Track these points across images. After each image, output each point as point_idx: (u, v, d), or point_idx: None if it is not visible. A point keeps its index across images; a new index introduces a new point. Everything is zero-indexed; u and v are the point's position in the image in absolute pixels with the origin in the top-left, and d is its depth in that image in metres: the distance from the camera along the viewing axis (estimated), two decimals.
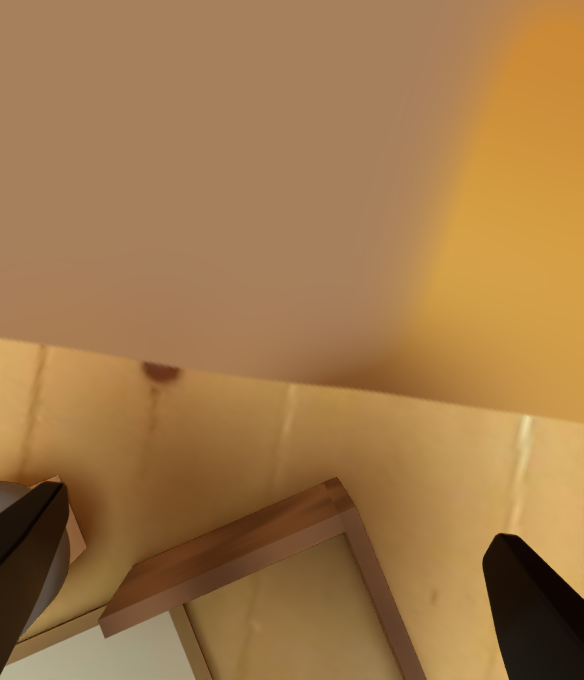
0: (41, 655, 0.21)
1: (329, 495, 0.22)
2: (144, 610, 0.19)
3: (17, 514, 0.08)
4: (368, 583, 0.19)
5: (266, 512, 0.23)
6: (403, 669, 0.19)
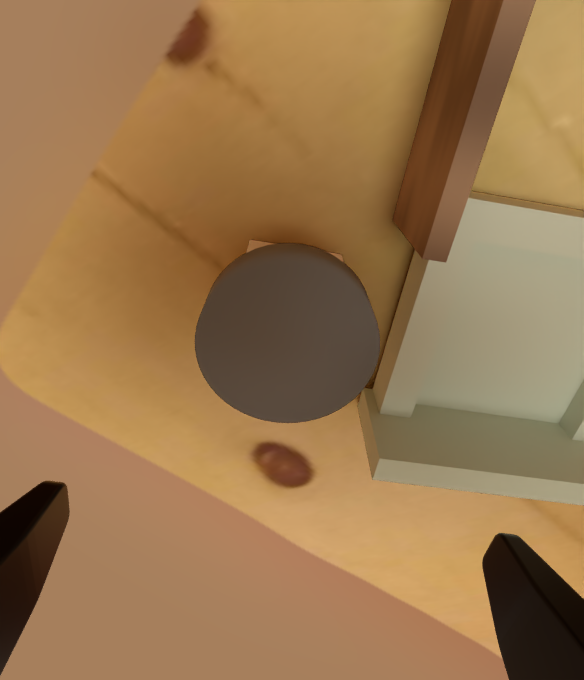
0: (408, 339, 0.19)
1: None
2: (453, 203, 0.14)
3: (17, 514, 0.08)
4: None
5: None
6: None
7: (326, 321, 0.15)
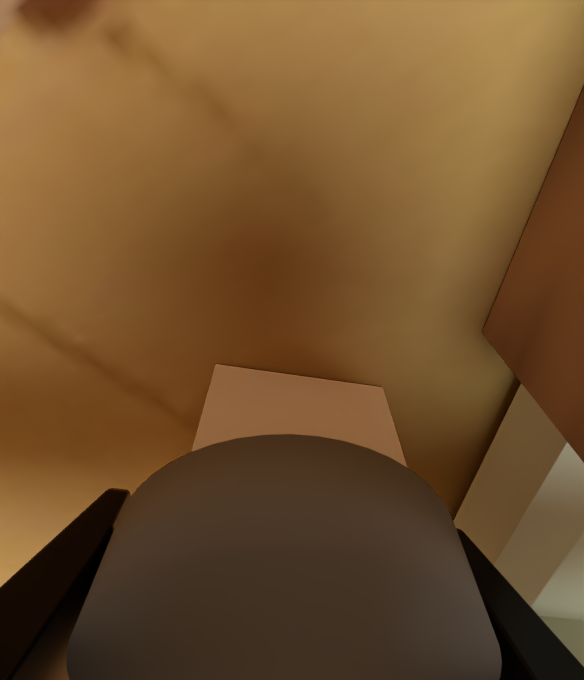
0: (510, 553, 0.10)
1: None
2: None
3: (90, 522, 0.08)
4: None
5: None
6: None
7: (378, 646, 0.06)
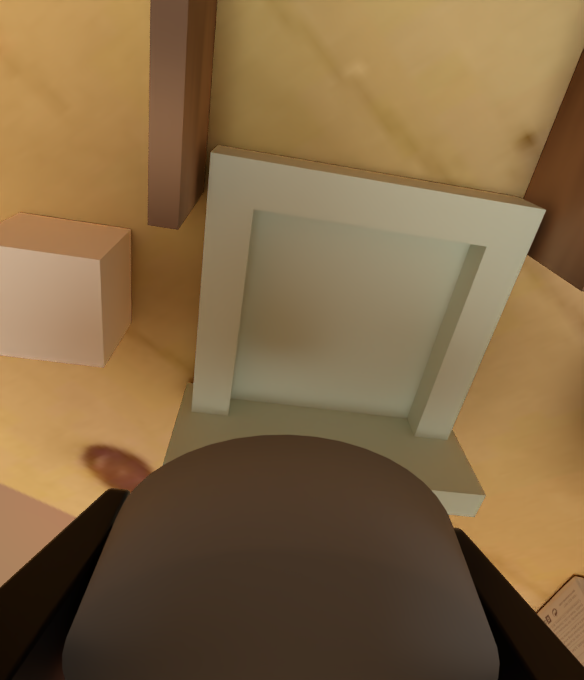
0: (203, 325, 0.17)
1: None
2: (165, 154, 0.11)
3: (90, 522, 0.08)
4: None
5: None
6: None
7: (375, 648, 0.06)
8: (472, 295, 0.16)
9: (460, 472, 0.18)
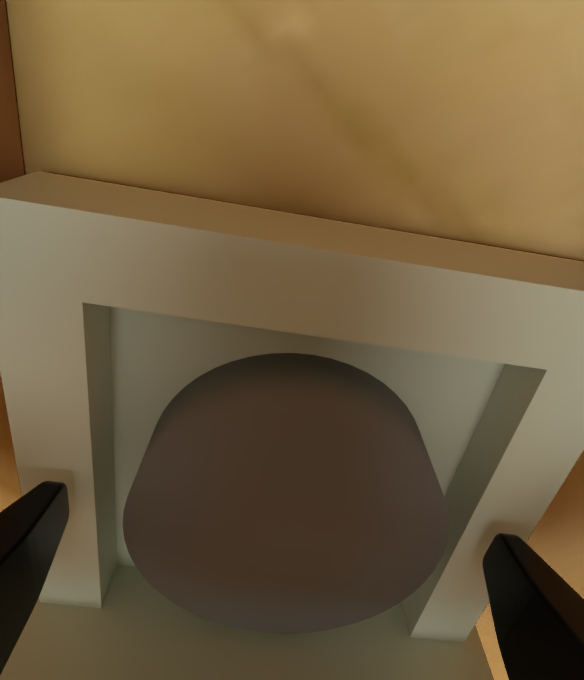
0: (31, 488, 0.09)
1: None
2: None
3: (17, 514, 0.08)
4: None
5: None
6: None
7: (356, 503, 0.09)
8: (515, 447, 0.09)
9: None
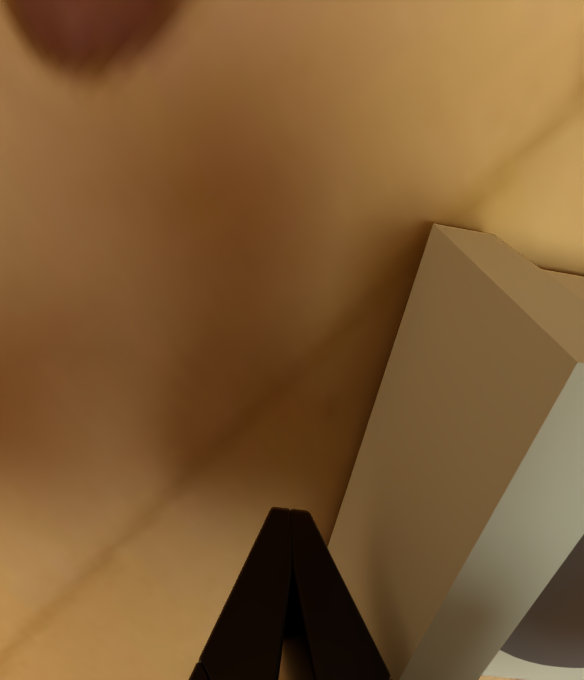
0: None
1: None
2: None
3: (273, 542, 0.08)
4: None
5: None
6: None
7: None
8: None
9: None
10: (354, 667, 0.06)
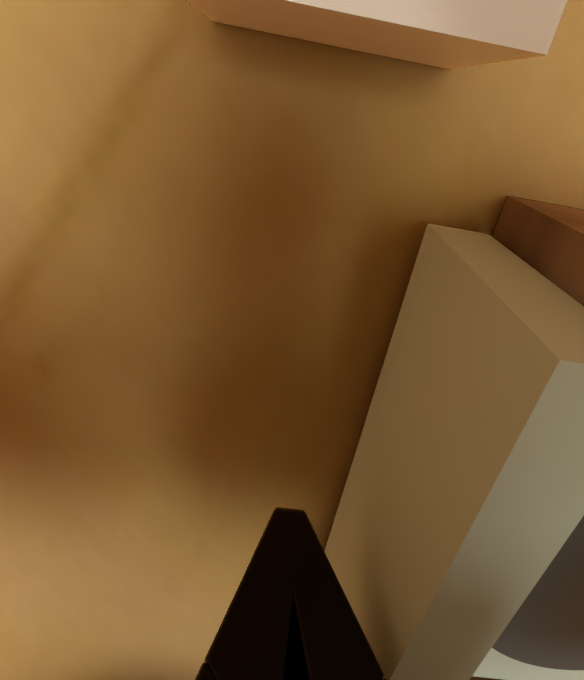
0: None
1: None
2: None
3: (277, 542, 0.08)
4: None
5: None
6: None
7: None
8: None
9: None
10: (347, 666, 0.06)
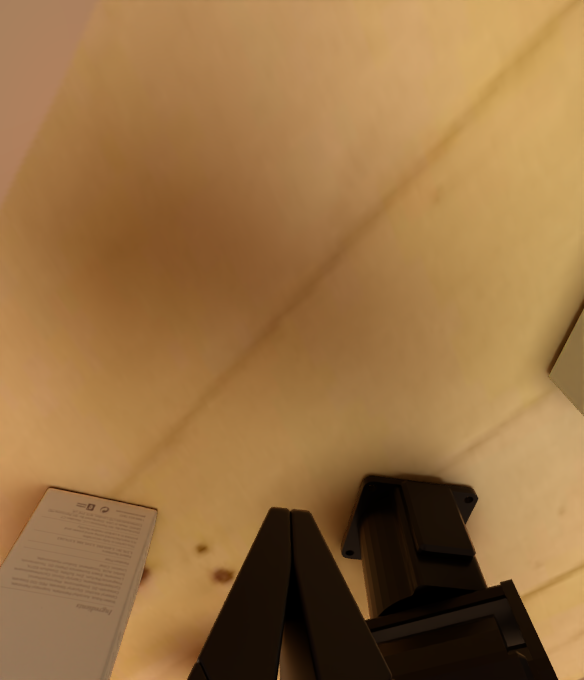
0: None
1: None
2: None
3: (272, 542, 0.08)
4: None
5: None
6: None
7: None
8: None
9: None
10: (356, 667, 0.06)
